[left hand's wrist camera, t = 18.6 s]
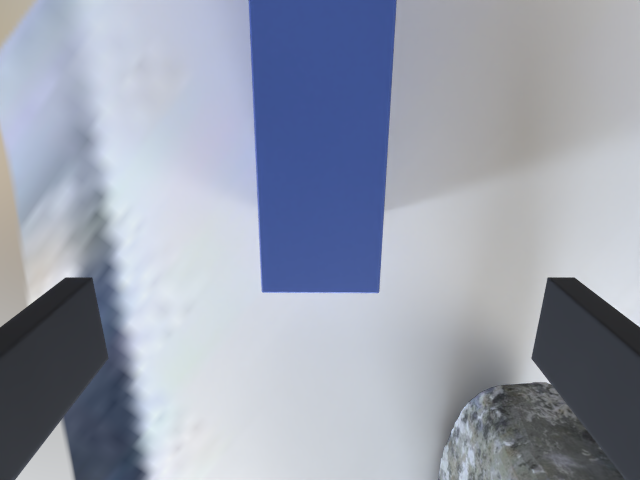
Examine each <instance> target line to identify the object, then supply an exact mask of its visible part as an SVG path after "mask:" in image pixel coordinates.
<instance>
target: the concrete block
mask: <svg viewBox="0 0 640 480" xmlns="http://www.w3.org/2000/svg"><path fill="white" fill-rule="evenodd" d="M438 480H625V479H624V478H623V477H622V475H621V474H620V473H619V471H618V470H617V469H616V467H615V466H614V465H613V464H612V462H611V461H610V460H609V458H608V457H607V456H606V454H605V453H604V452H603V451H602V449H601V448H600V447H599V445H598V444H597V443H596V441H595V440H594V439H593V438H592V436H591V435H590V434H589V432H588V431H587V430H586V428H585V427H584V426H583V425H582V423H581V422H580V421H579V419H578V418H577V417H576V415H575V414H574V413H573V412H572V410H571V409H570V408H569V406H568V405H567V404H566V403H565V401H564V400H563V399H562V397H561V396H560V395H559V393H558V392H557V391H556V390H555V388H554V387H553V386H552V385H551V384H548V383H543V382H534V383H526V384H513V385H499V386H495V387H492V388H489V389H487V390H485V391H483V392H481V393H479V394H478V395H477V396H476V397H475V398H473V399H472V400H471V401H469V402H468V403H467V405H466V406H465V407H464V408H463V410H462V411H461V413H460V416H459V417H458V419H457V421H456V422H455V425H454V428H453V429H452V431H451V434H450V437H449V440H448V442H447V444H446V445H445V447H444V451H443V457H442V458H441V465H440V472H439V478H438Z"/></svg>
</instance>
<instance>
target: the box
mask: <svg viewBox="0 0 640 480" xmlns="http://www.w3.org/2000/svg"><path fill="white" fill-rule="evenodd" d="M249 16H250V39H251V61H252V83H253V106H254V128H255V151H256V173H257V195H258V218H259V240H260V262H261V285H262V292H267V293H379V286H380V269H381V252H382V235H383V219H384V202H385V185H386V168H387V152H388V135H389V118H390V101H391V84H392V68H393V51H394V34H395V17H396V0H249Z"/></svg>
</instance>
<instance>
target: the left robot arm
mask: <svg viewBox="0 0 640 480" xmlns="http://www.w3.org/2000/svg"><path fill="white" fill-rule="evenodd" d="M107 360H108V354H107V349H106V344H105V339H104V334H103V329H102V324H101V319H100V314H99V309H98V304H97V299H96V294H95V289H94V284H93V279H92V278H64V279H63V280H62V281H61V282H59V283H58V284H57V285H55V286H54V287H53V288H51V289H50V290H49V291H47V292H46V293H45V294H44V295H42V296H41V297H40V298H38V299H37V300H36V301H34V302H33V303H32V304H30V305H29V306H28V307H26V308H25V309H24V310H23V311H21V312H20V313H19V314H17V315H16V316H15V317H13V318H12V319H11V320H10V321H8V322H7V323H5V324H4V325H3V326H2V327H0V480H15V479H16V478H17V477H18V475H19V474H20V473H21V471H22V470H23V469H24V467H25V466H26V465H27V464H28V462H29V461H30V460H31V458H32V457H33V456H34V454H35V453H36V452H37V451H38V449H39V448H40V447H41V445H42V444H43V443H44V441H45V440H46V439H47V438H48V436H49V435H50V434H51V432H52V431H53V430H54V428H55V427H56V426H57V425H58V423H59V422H60V421H61V419H62V418H63V417H64V415H65V414H66V413H67V412H68V410H69V409H70V408H71V406H72V405H73V404H74V403H75V401H76V400H77V399H78V397H79V396H80V395H81V393H82V392H83V391H84V390H85V388H86V387H87V386H88V384H89V383H90V382H91V380H92V379H93V378H94V377H95V375H96V374H97V373H98V371H99V370H100V369H101V367H102V366H103V365H104V364H105V362H106V361H107ZM532 360H533V361H534V362H535V364H536V365H537V366H538V367H539V369H540V370H541V371H542V373H543V374H544V375H545V377H546V378H547V379H548V380H549V382H550V383H551V384H552V386H553V387H554V388H555V390H556V391H557V392H558V393H559V395H560V396H561V397H562V399H563V400H564V401H565V403H566V404H567V405H568V406H569V408H570V409H571V410H572V412H573V413H574V414H575V415H576V417H577V418H578V419H579V421H580V422H581V423H582V425H583V426H584V427H585V428H586V430H587V431H588V432H589V434H590V435H591V436H592V438H593V439H594V440H595V441H596V443H597V444H598V445H599V447H600V448H601V449H602V451H603V452H604V453H605V454H606V456H607V457H608V458H609V460H610V461H611V462H612V464H613V465H614V466H615V467H616V469H617V470H618V471H619V473H620V474H621V475H622V477H623V478H624V479H625V480H640V327H638V326H637V325H636V324H635V323H633V322H632V321H631V320H629V319H628V318H627V317H625V316H624V315H623V314H621V313H620V312H619V311H617V310H616V309H615V308H614V307H612V306H611V305H610V304H608V303H607V302H606V301H604V300H603V299H602V298H600V297H599V296H598V295H596V294H595V293H594V292H593V291H591V290H590V289H589V288H587V287H586V286H585V285H583V284H582V283H581V282H579V281H578V280H577V279H576V278H548V279H547V284H546V289H545V294H544V299H543V304H542V309H541V314H540V319H539V324H538V329H537V334H536V339H535V344H534V349H533V354H532Z"/></svg>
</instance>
